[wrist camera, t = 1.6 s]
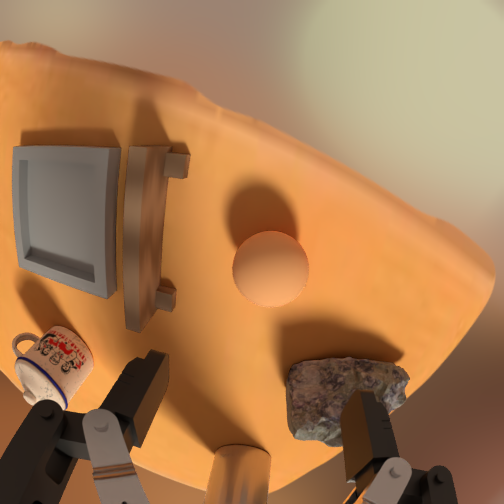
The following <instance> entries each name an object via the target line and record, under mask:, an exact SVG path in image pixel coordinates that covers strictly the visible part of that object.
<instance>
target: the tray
mask: <svg viewBox="0 0 504 504" xmlns="http://www.w3.org/2000/svg"><path fill="white" fill-rule="evenodd" d="M120 155H121V148H117V147H100V146H77V145H23V146H16V147H13V163H12V199H13V218H14V230H15V240H16V248H17V256H18V262H19V267H21V268H23V269H26V270H28V271H31V272H33V273H36V274H38V275H41V276H43V277H46V278H49V279H51V280H54V281H56V282H59V283H62V284H65V285H67V286H70V287H73V288H76V289H79V290H81V291H84V292H87V293H90V294H93V295H96V296H99V297H102V298H105V299H108V298H109V297H110V296H111V295H112V294H113V293H114V292H115V291H117V281H116V208H117V190H118V176H119V165H120Z"/></svg>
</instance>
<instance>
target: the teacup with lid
mask: <svg viewBox="0 0 504 504" xmlns="http://www.w3.org/2000/svg"><path fill="white" fill-rule="evenodd" d="M23 340H32V341H34V342H35V344H34V345H33V346H32V347H31V348H30V349H29V350H28V351H27V352H26V353H25V354H24V355H23V354H22V353H21V352H20V351H19V350H18V349H17V347H16V346H17V344H18V343H19V342H21V341H23ZM12 348H13V352H14V353H15V355H16V356H17V357H18V358H17V360H16V362H15V371H16V374H17V376H18V378H19V380H20V382H21V384H22V386H23V389H24V390H25V392H24V393H23V396H24V398H25V400H26V401H27V402H28V403H29V404H31V405H35V404H36V403H37V402H38V401H40V400H44V399H50V400H53V401H56V402H57V403H58V404H59V405H60V406H61V407H62V409H63V410H66V409H67V407H68V403H69V401H70V400H71V399H72V397H73V396H74V394H75V393H76V392H77V390H78V389H79V387H80V386H81V385H82V383H83V382H84V381H85V379H86V378H87V377H88V375H89V374H90V373H91V371H92V370H93V366H94V362H93V358H92V355H91V353H90V351H89V349H88V347H87V346H86V345H85V343H84V342H83V341H82V340H81V339H80V338H79V337H78V336H77V335H76V334H75V333H73V332H72V331H71V330H69V329H67V328H65V327H62V326H53V327H52V328H50V329H49V330H48V331H47V332H46V333H45V334H44V335H43V336H42V337H41V338H39V337H38V336H36V335H35V334H32V333H22V334H19V335H17V336H16V337H15V338H14V339H13V342H12Z"/></svg>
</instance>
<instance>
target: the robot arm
mask: <svg viewBox="0 0 504 504" xmlns="http://www.w3.org/2000/svg"><path fill="white" fill-rule="evenodd" d="M168 382H169V355H168V354H166V353H162V352H159V351H156V350H152V349H151V350H150V351H149V353H148V354H147V356H146V358H145V359H141V358H138V357H137V358H135V359H134V360H132V361H131V362H129V363H128V364H127V365H126V367H125V368H124V370H123V371H122V374H121V375H120V376H119V378H118V380H117V381H116V382H115V384H114V386H113V387H112V389H111V390H110V392H109V393H108V395H107V397H106V398H105V400H104V401H103V403H102V405H101V406H100V407H99V408H98V409H94V410H91V411H89V412H88V413H76V412H70V411H65V410H63V409H62V407H61V406H60V405H59V404H58V403H57V402H56V401H53V400H50V399H44V400H40V401H38V402H37V403H36V404H35V405H34V406H33V407H32V409H31V410H30V412H29V413H28V415H27V417H26V418H25V419H24V421H23V423H22V424H21V426H20V427H19V429H18V431H17V432H16V434H15V435H14V437H13V438H12V440H11V442H10V443H9V445H8V447H7V448H6V450H5V452H4V454H3V456H2V457H1V459H0V504H59V502H60V499H61V497H62V495H63V492H64V490H65V488H66V485H67V483H68V481H69V478H70V476H71V474H72V472H73V469H74V467H75V465H76V463H77V461H78V459H79V458H80V459H85V460H91V463H92V467H93V479H94V483H95V486H96V489H97V492H98V495H99V498H100V501H101V503H102V504H150V503H149V501H148V499H147V497H146V494H145V492H144V490H143V488H142V485H141V483H140V480H139V478H138V476H137V473H136V471H135V468H134V466H133V463H132V460H131V458H130V455H129V453H130V451H131V449H132V447H133V446H136V447H138V448H141V446H142V444H143V441H144V439H145V437H146V435H147V432H148V430H149V428H150V425H151V423H152V421H153V419H154V416H155V414H156V412H157V410H158V408H159V405H160V403H161V401H162V399H163V396H164V394H165V392H166V390H167V386H168ZM340 426H341V434H342V442H343V451H344V460H345V470H346V481H347V482H356V487H355V488H354V489H353V491H352V492H351V493H350V495H349V496H348V497H347V498H346V500H345V501H344V502H343V504H458V502H457V497H456V492H455V488H454V483H453V479H452V475H451V473H450V471H449V470H448V469H447V468H446V467H444V466H434V467H433V468H431V469H430V470H429V471H422V470H417V469H413V468H411V467H410V465H409V463H408V462H407V461H406V460H404V459H402V458H400V456H399V453H398V449H397V445H396V441H395V437H394V433H393V430H392V425H391V422H390V418H389V415H388V411H387V409H386V408H385V407H384V405H383V404H382V403H381V402H377V401H376V397H375V394H374V391H372V390H359V389H356V390H355V391H354V393H353V394H352V396H351V397H350V399H349V401H348V402H347V404H346V405H345V407H344V409H343V410H342V413H341V417H340ZM270 467H271V457H270V455H269V454H268V453H266V452H265V451H263V450H261V449H258V448H255V447H251V446H245V445H228V446H223V447H221V448H219V449H218V450H217V451H216V453H215V457H214V461H213V466H212V470H211V474H210V478H209V482H208V486H207V491H206V495H205V499H204V503H203V504H267V499H268V488H269V479H270Z"/></svg>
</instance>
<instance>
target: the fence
mask: <svg viewBox="0 0 504 504" xmlns="http://www.w3.org/2000/svg"><path fill="white" fill-rule="evenodd" d="M189 161H190V155H189V154H181V153H173V152H172V147H170V146H160V145H145V146H129V154H128V163H127V174H126V186H125V200H124V221H123V286H124V307H125V321H126V329H129V330H132V331H135V332H138V333H141V331H142V330H143V328H144V327H145V326H146V324H147V323H148V321H149V320H150V319H151V317H152V316H153V315H154V313H155V312H156V310H157V309H162V310H165V311H169V312H172V310H173V309H174V307H175V303H176V289H173V288H169V287H165V286H161V285H160V277H161V256H162V240H163V227H164V215H165V204H166V194H167V185H168V177H173V178H180V179H184V178H187V175H188V168H189Z"/></svg>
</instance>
